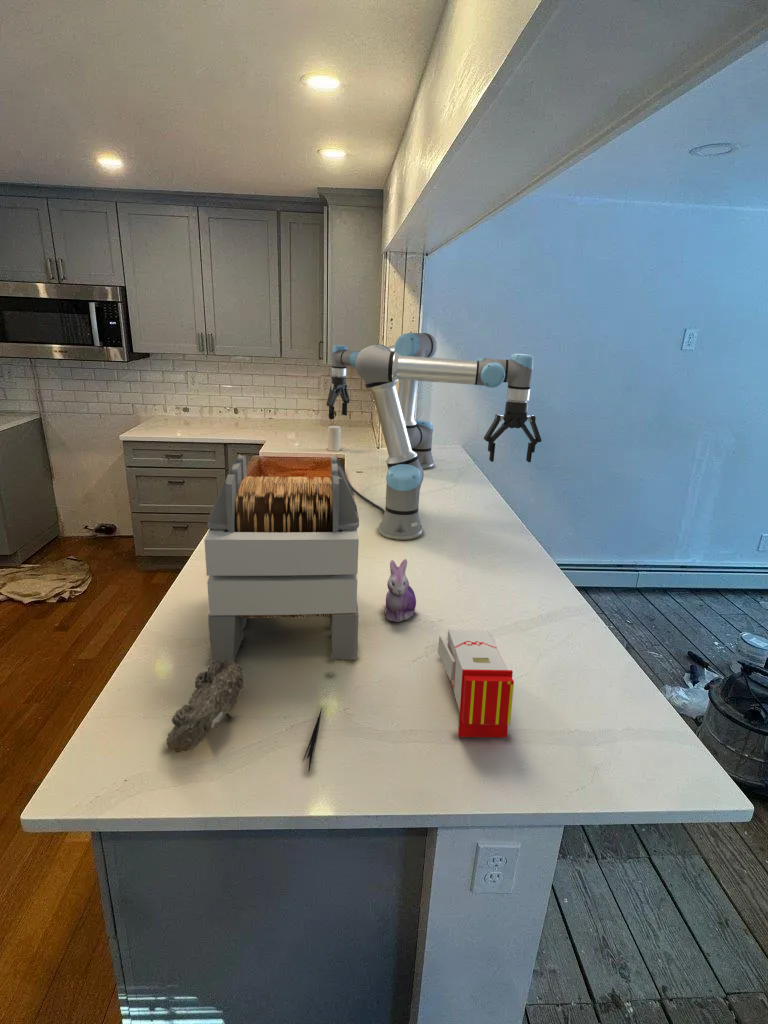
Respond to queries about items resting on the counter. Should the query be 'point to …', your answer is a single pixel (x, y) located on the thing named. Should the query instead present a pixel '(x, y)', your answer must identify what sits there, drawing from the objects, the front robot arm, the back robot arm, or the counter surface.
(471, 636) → the toy
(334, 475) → the record crate
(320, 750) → the counter surface
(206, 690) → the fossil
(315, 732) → the feather
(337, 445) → the canister
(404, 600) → the figurine
